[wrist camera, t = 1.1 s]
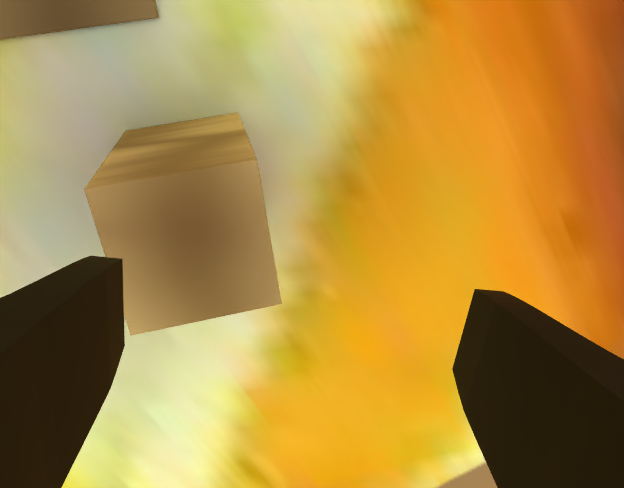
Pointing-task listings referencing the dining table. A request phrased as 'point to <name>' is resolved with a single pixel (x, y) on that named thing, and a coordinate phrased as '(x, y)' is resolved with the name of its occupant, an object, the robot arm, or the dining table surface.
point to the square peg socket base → (68, 14)
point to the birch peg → (185, 223)
